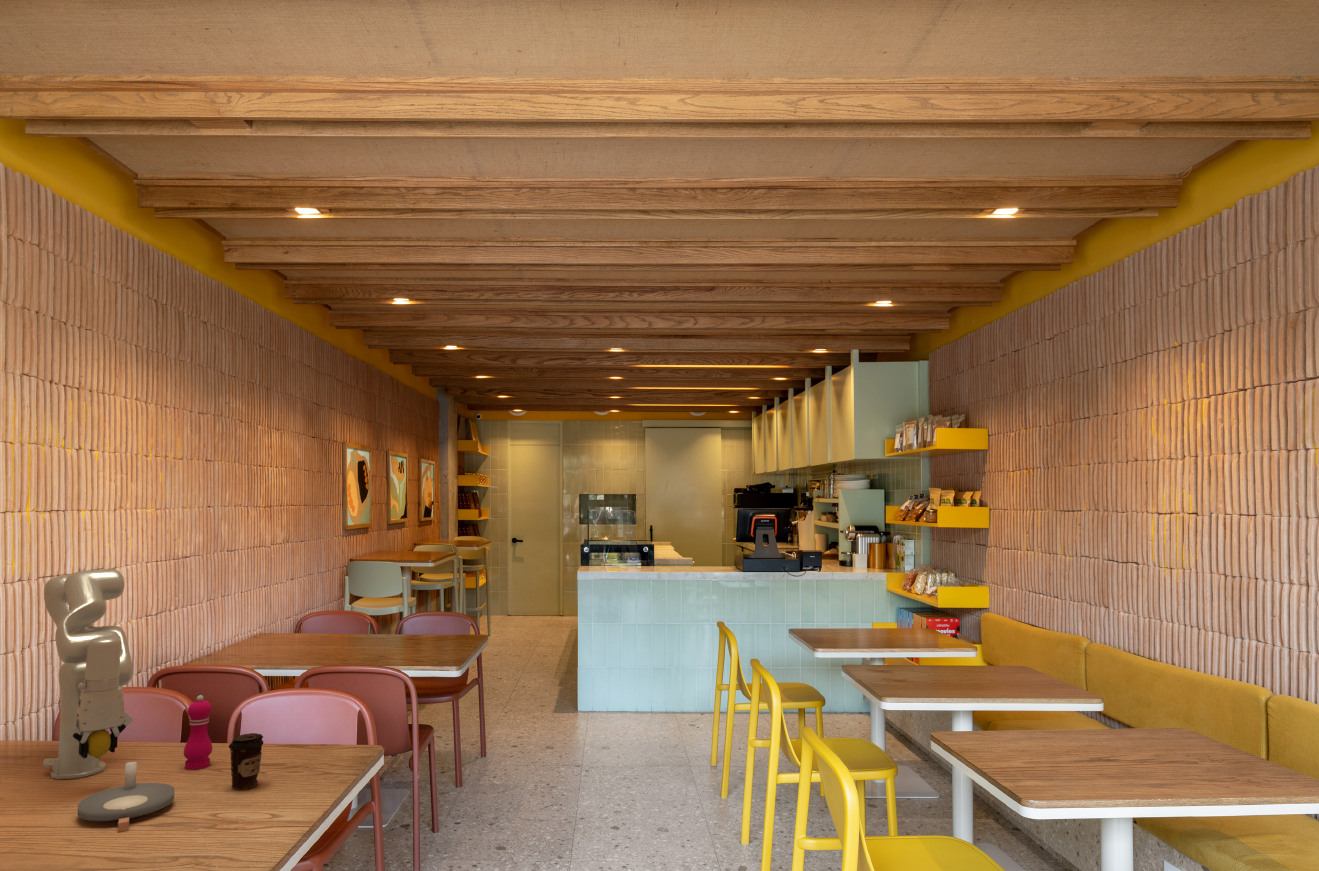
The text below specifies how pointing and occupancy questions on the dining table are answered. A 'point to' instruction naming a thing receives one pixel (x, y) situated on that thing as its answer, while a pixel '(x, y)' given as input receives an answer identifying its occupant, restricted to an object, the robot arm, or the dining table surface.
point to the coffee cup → (245, 760)
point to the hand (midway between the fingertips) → (97, 753)
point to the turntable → (126, 799)
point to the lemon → (98, 743)
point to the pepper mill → (198, 736)
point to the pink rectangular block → (123, 824)
